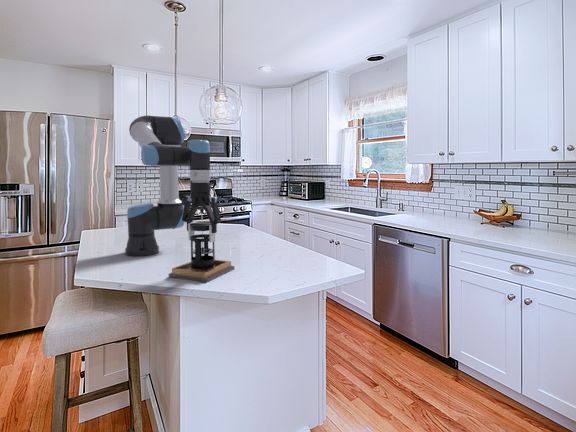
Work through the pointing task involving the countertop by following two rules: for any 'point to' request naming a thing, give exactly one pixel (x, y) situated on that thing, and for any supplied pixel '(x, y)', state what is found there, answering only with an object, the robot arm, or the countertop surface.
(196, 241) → the french press
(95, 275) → the countertop surface
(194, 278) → the rectangular wooden frame
